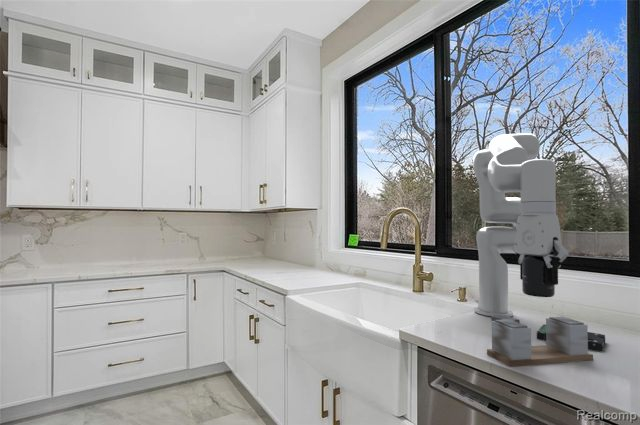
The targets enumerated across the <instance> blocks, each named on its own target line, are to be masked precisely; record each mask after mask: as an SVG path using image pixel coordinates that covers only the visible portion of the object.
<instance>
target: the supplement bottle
mask: <svg viewBox="0 0 640 425" xmlns="http://www.w3.org/2000/svg"><path fill="white" fill-rule="evenodd" d="M550 260H551V261H552V258H550ZM545 268H548V267H547V265H546V263H545V260H544V258H543V256H532V255H527V256H526V257H524V258H523V260H522V280H521V283H522V289H521V290H522V293H523V294H524V295H527V296H529V297H530V296H531V297H537V298H552V297H555V294H556V293H555V291H556V290H555V289H556V285H546V284H545Z"/></svg>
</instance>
